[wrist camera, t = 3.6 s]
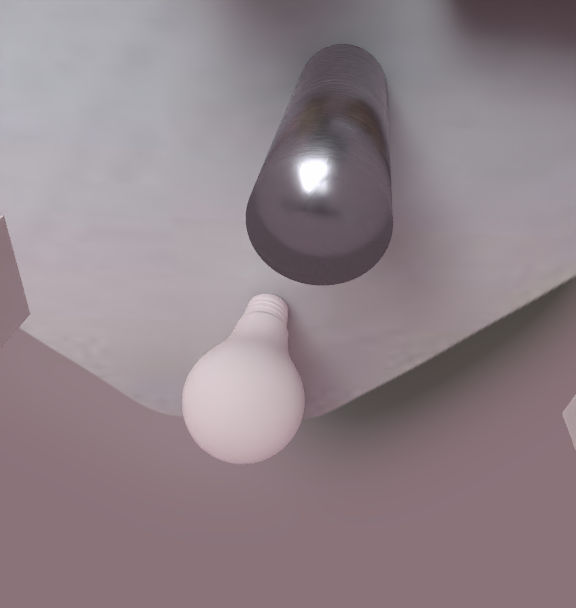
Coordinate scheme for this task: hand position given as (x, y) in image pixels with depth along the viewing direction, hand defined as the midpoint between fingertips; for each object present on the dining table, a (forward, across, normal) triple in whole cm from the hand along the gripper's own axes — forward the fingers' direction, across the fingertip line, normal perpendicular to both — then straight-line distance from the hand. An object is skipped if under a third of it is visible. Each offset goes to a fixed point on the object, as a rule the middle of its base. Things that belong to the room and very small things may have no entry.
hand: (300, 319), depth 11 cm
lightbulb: (+16, -2, -12) cm, 20 cm away
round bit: (+16, 0, 0) cm, 16 cm away
